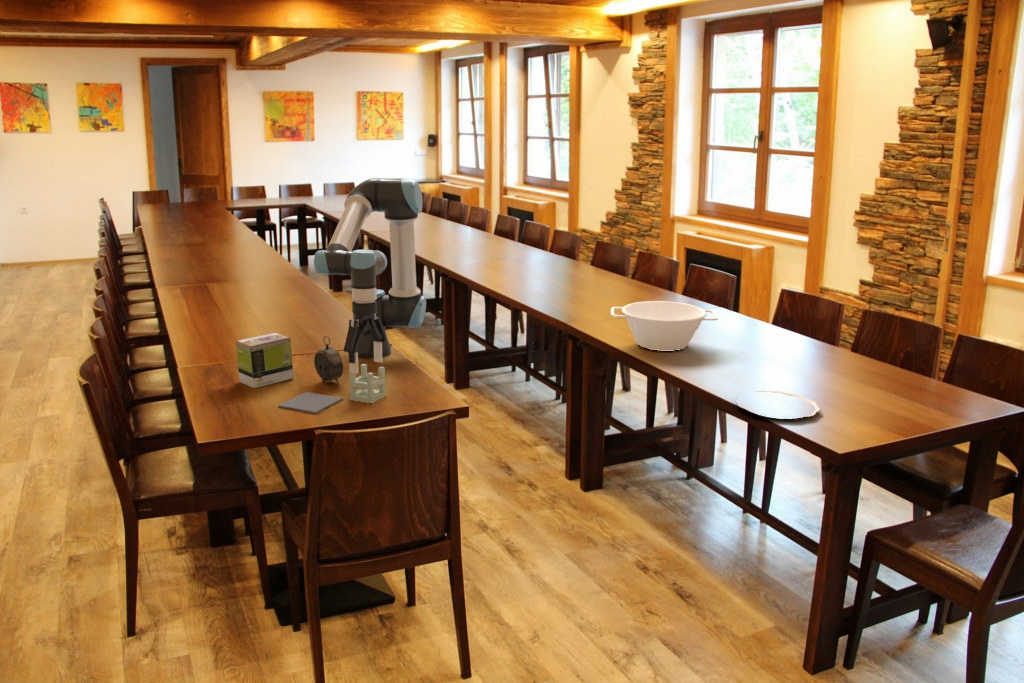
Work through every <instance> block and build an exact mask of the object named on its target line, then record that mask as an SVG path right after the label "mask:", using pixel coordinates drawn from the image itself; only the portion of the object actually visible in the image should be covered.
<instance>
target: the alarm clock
mask: <svg viewBox="0 0 1024 683" xmlns="http://www.w3.org/2000/svg"><path fill="white" fill-rule="evenodd" d="M325 338H327V339H328V341H329V342H328V343H326V342H325ZM322 340H323V343H324V345H325V347H324V348H321V349H319V350H316V352H315V355H314V359H313V362H314V364H313V365H314V368H315V370H316V373H317V375H318V376H319V377H320V378H321V379H322V384H321V385H324V384H325V382H331V381H335V383H336V384H337V386H340V383H339V380H338V379H340V378H341V377H342V376H343V372H344V362H343V359H342V356H341V355H340V353H339V351H338V350H337V349H335V348H334V347H332V346H330V344H331V339H330V337H329V336H328V335H325V336H324V337H323V339H322Z"/></svg>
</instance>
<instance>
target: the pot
mask: <svg viewBox="0 0 1024 683" xmlns="http://www.w3.org/2000/svg"><path fill="white" fill-rule="evenodd" d="M615 310H621V312H622V313H623V315H622V314H615ZM707 313H711V314H713V317H712V318H711V317H706V316H707ZM610 316H611V317H613V318H625V319H626V321H627V323H628V325H629V326H628V327H629V328H630V330H631V333H632V334H633V335H632V336H633V337H634V340H635V343H636V344H637V346H639V345H640V346H643V347H646V348H651V349H659V350H677V349H682V348H684V349H686V348H687V347H688V346H689V343H690V342H691V340H692V338H693V337H694V336H695V333H696V331H697V330H698V329H699V328H700V325H701V323H702V321H718V320H719V316H718V314H717V312H716V311H715V310H711V309H703V308H702V307H699V306H697V305H693V304H689V303H685V302H677V301H669V300H667V301H666V300H645V301H637V302H632V303H629V304H626V305H624V306H612V307H611V308H610ZM640 346H639V347H640ZM686 346H687V347H686ZM685 347H686V348H685ZM682 350H683V349H682Z"/></svg>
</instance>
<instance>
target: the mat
mask: <svg viewBox="0 0 1024 683" xmlns="http://www.w3.org/2000/svg"><path fill="white" fill-rule="evenodd" d="M342 401H344V399H343V397H339V396H334V395H333V396H332V395H326V394H321V393H314V392H310V391H304V392H303V393H301V394H299V395H297V396H295V397H291V399H289V400H286V401H284V402H282V403H280V404H278V406H277V407H278V408H281V409H286V410H287V409H288V410H292V411H293V410H294V411H296V412H297V411H298V412H303V413H307V414H308V413H309V414H314V415H317V414H319V413H320V412H321V413H322V412H323V411H325V410H326V409H328V408H330V407H332V406H334V405H336V404H338V403H340V402H342Z"/></svg>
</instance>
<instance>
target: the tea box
mask: <svg viewBox="0 0 1024 683" xmlns="http://www.w3.org/2000/svg"><path fill="white" fill-rule="evenodd" d="M291 341H292V340H291V337H288V336H287V335H283V334H280V333H278V332H275V331H274V332H272V333H271V332H270V333H266V334H262V335H261V334H260V335H257V336H250V337H246V338H242V339H239V340H235V346H236V347H235V349H236V357H237V368H238V377H239V378H238V379H239V382H240V383H241V384H244V385H246V386H248V387H250V388H252V389H256V388H261V387H264V386H267V385H268V386H269V385H272V384H277V383H280V382H285V381H288V380H292V379H294V367H293V366H294V365H293V355H292V354H293V353H292V352H293V351H292V342H291Z"/></svg>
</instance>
